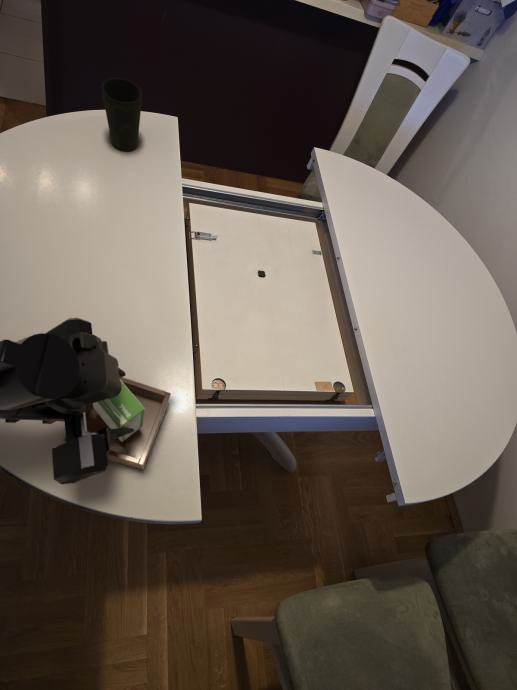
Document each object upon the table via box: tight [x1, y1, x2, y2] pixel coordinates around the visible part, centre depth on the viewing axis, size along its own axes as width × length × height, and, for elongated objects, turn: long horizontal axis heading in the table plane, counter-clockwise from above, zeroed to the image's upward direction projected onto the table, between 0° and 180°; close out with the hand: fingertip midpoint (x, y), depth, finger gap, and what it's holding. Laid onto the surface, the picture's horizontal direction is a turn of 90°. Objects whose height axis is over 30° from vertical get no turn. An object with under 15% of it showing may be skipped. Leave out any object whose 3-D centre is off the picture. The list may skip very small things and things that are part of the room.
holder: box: [63, 376, 171, 471], centre depth 60 cm, size 11×11×5 cm
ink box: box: [93, 380, 145, 442], centre depth 52 cm, size 7×4×13 cm, turn 44°
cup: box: [100, 77, 143, 153], centre depth 82 cm, size 8×8×12 cm
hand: (127, 402), depth 53 cm, fingers closed on ink box, 8 cm apart
